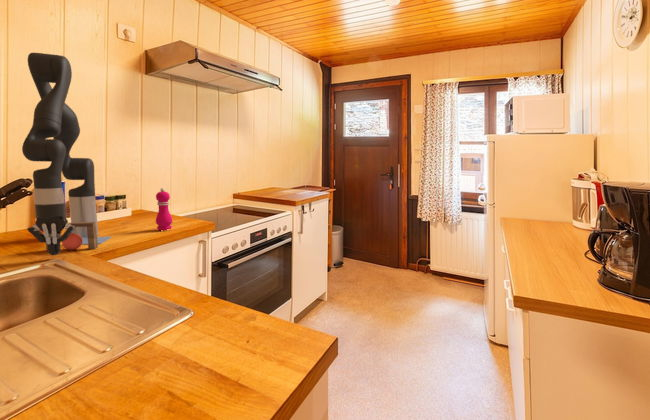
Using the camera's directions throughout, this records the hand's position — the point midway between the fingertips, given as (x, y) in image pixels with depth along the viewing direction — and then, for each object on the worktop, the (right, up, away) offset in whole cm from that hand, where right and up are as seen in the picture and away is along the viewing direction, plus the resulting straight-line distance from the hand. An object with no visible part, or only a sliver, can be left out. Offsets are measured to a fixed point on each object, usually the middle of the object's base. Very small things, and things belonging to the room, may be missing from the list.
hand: (54, 254), depth 112 cm
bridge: (-3, 0, +13) cm, 13 cm away
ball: (-3, +3, +12) cm, 13 cm away
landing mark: (-7, +2, +26) cm, 27 cm away
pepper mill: (+12, +5, +51) cm, 52 cm away
